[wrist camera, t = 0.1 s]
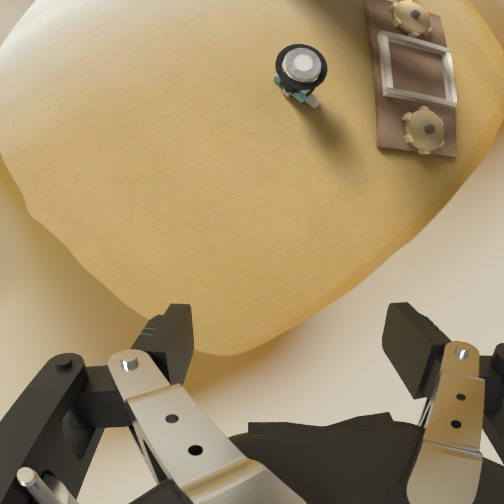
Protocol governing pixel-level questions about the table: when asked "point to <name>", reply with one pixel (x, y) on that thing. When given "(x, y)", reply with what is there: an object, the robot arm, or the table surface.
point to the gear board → (411, 79)
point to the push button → (300, 72)
